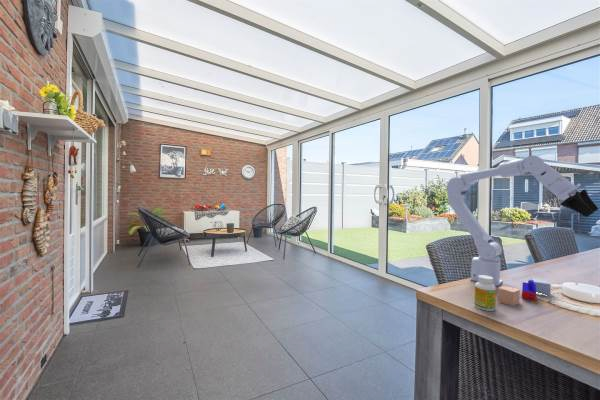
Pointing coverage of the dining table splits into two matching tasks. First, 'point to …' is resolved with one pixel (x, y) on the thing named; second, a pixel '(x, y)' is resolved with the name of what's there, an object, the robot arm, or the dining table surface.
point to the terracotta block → (508, 295)
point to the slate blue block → (542, 286)
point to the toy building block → (529, 290)
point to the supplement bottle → (485, 293)
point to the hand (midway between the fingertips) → (592, 213)
